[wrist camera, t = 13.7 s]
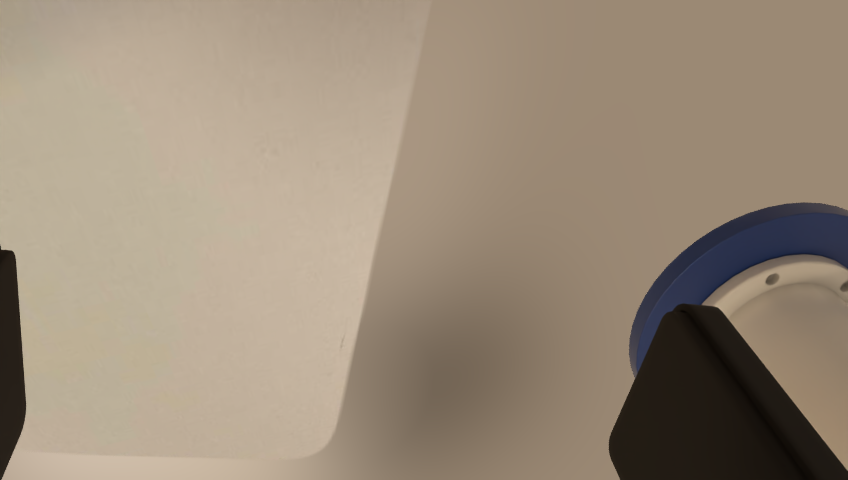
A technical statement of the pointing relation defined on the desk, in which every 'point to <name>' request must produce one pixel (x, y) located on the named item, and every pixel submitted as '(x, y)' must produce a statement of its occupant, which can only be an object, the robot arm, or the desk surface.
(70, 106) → the desk surface
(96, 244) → the desk surface
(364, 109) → the desk surface
